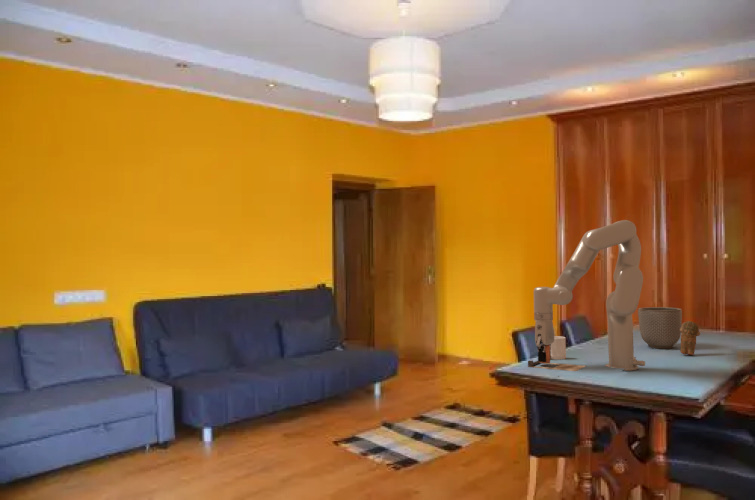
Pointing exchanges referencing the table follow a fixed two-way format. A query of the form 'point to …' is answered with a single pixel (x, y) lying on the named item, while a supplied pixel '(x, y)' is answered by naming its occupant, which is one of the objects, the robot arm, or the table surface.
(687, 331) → the figurine
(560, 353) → the mug
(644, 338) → the planter
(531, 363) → the shelf board
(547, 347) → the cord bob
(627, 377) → the table surface
